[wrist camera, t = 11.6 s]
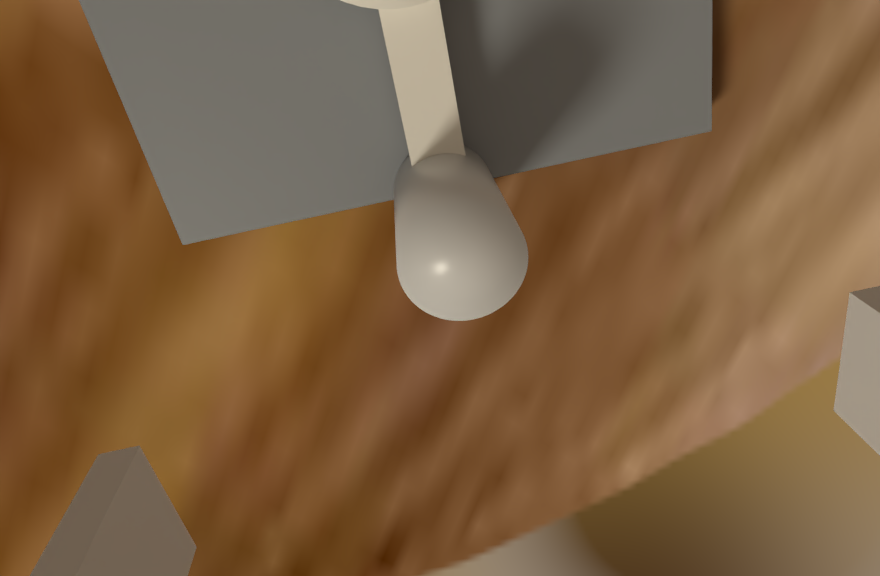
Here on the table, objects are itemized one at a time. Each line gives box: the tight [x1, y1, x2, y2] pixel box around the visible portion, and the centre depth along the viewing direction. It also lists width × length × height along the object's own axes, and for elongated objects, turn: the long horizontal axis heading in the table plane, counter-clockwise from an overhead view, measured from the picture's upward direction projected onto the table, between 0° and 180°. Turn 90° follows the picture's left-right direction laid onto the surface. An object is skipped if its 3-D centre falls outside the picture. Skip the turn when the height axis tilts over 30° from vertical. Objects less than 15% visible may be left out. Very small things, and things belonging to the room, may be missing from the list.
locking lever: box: [341, 0, 528, 321], centre depth 19 cm, size 17×8×7 cm, turn 11°
